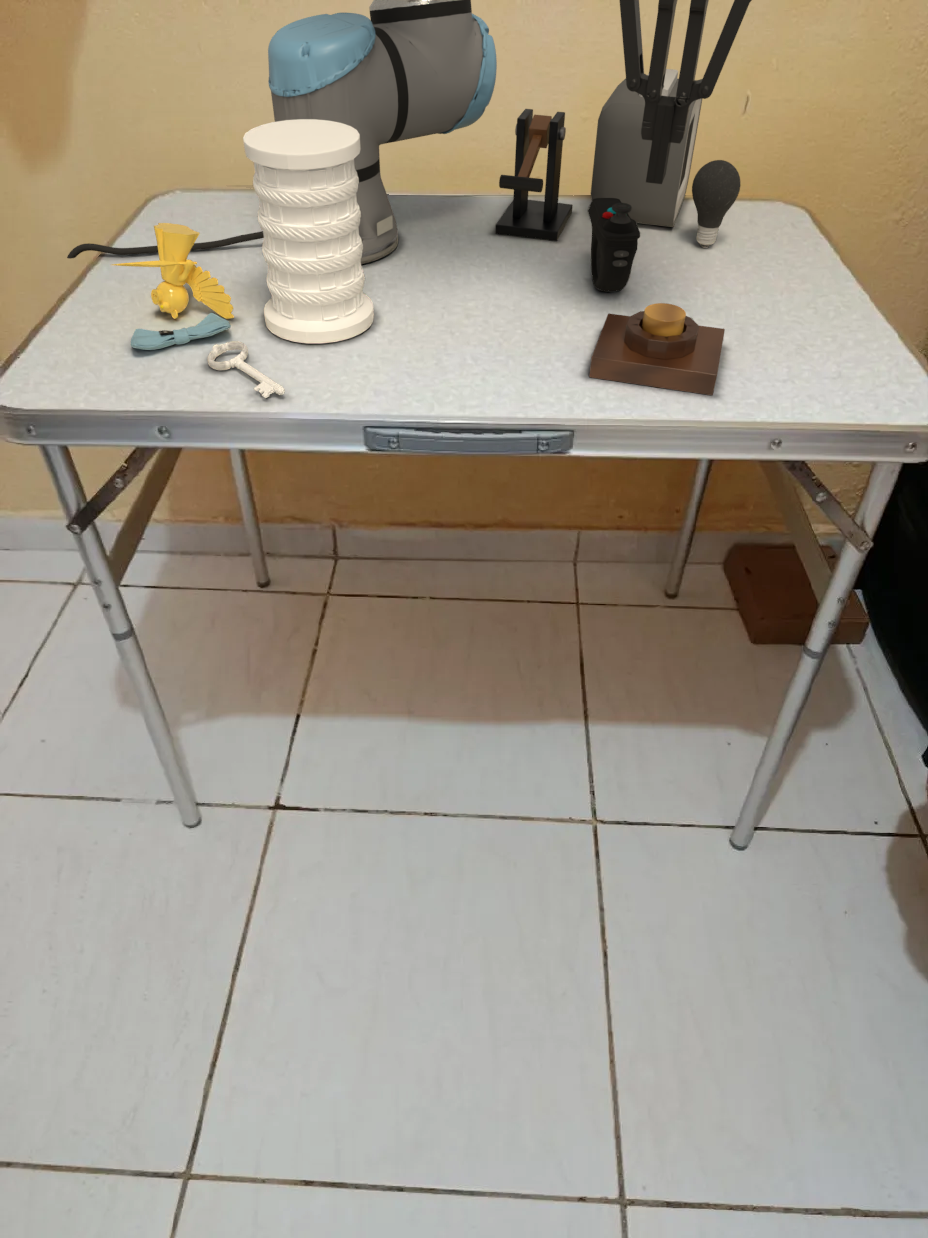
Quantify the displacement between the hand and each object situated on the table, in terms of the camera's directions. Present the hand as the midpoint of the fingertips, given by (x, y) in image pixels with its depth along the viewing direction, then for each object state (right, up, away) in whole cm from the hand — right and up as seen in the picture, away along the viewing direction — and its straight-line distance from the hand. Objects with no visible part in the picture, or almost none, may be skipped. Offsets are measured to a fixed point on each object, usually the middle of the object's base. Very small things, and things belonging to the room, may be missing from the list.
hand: (655, 177), depth 85 cm
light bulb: (+12, +5, +30) cm, 32 cm away
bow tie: (-48, -10, +11) cm, 50 cm away
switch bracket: (-9, +11, +34) cm, 37 cm away
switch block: (+2, -15, +7) cm, 17 cm away
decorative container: (-33, -9, +13) cm, 37 cm away
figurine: (-49, -1, +7) cm, 50 cm away
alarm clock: (+6, +15, +39) cm, 42 cm away
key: (-40, -18, +3) cm, 44 cm away
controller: (-1, -2, +21) cm, 21 cm away
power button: (+2, -12, +5) cm, 13 cm away
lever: (-10, +14, +26) cm, 31 cm away
